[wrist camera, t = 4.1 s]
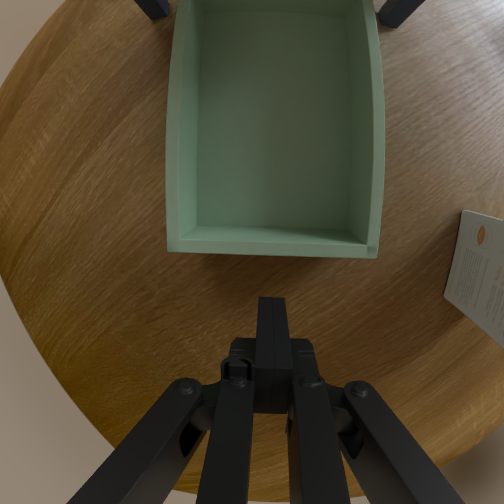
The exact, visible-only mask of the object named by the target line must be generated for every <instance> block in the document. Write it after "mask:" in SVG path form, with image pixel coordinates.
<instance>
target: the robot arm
mask: <svg viewBox="0 0 504 504" xmlns="http://www.w3.org/2000/svg"><path fill="white" fill-rule="evenodd" d="M220 365H221V380H220V381H218V382H216V383H214V384H209V385H201V383H200V382H199V381H197V380H195V379H193V378H180V379H177V380H175V381H174V382H172V383H171V384H170V386H169V387H168V388H167V389H166V390H165V391H164V393H163V394H162V395H161V396H160V397H159V399H158V400H157V401H156V402H155V403H154V405H153V406H152V407H151V408H150V409H149V410H148V412H147V413H146V414H145V415H144V416H143V417H142V419H141V420H140V421H139V422H138V423H137V424H136V426H135V427H134V428H133V429H132V430H131V431H130V433H129V434H128V435H127V436H126V437H125V438H124V440H123V441H122V442H121V443H120V444H119V445H118V446H117V448H116V449H115V450H114V451H113V452H112V453H111V455H110V456H109V457H108V458H107V459H106V460H105V461H104V462H103V464H102V465H101V466H100V467H99V468H98V469H97V470H96V471H95V473H94V474H93V475H92V476H91V477H90V478H89V479H88V480H87V482H86V483H85V484H84V485H83V486H82V487H81V488H80V489H79V491H77V493H76V494H75V495H74V496H73V497H72V498H71V499H70V500H69V501H68V503H67V504H163V502H164V501H165V499H166V498H167V496H168V494H169V493H170V491H171V490H172V488H173V487H174V485H175V484H176V482H177V480H178V479H179V477H180V476H181V474H182V472H183V471H184V469H185V467H186V466H187V464H188V463H189V461H190V459H191V458H192V456H193V454H194V453H195V451H196V449H197V448H198V446H199V444H200V443H201V441H202V439H203V438H204V436H205V434H206V432H207V430H211V432H210V436H209V441H208V446H207V451H206V456H205V460H204V465H203V470H202V475H201V480H200V485H199V490H198V495H197V500H196V504H247V502H248V488H249V474H250V459H251V444H252V428H253V413H266V414H287V409H288V418H287V424H286V430H285V433H287V438H288V460H289V487H290V504H351V503H350V497H349V492H348V486H347V481H346V476H345V471H344V466H343V461H342V456H341V452H342V454H343V455H344V457H345V459H346V461H347V463H348V464H349V466H350V468H351V470H352V472H353V473H354V475H355V477H356V479H357V481H358V483H359V484H360V486H361V488H362V490H363V491H364V493H365V495H366V497H367V499H368V500H369V502H370V504H465V503H464V502H463V500H462V499H461V498H460V496H459V495H458V494H457V493H456V491H455V490H454V489H453V487H452V486H451V485H450V484H449V482H448V481H447V480H446V478H445V477H444V476H443V475H442V473H441V472H440V471H439V469H438V468H437V467H436V466H435V464H434V463H433V462H432V461H431V459H430V458H429V457H428V455H427V454H426V453H425V452H424V450H423V449H422V448H421V447H420V445H419V444H418V443H417V442H416V440H415V439H414V438H413V436H412V435H411V434H410V433H409V431H408V430H407V429H406V428H405V426H404V425H403V424H402V423H401V421H400V420H399V419H398V418H397V416H396V415H395V414H394V413H393V411H392V410H391V409H390V408H389V406H388V405H387V404H386V403H385V401H384V400H383V399H382V398H381V396H380V395H379V394H378V393H377V391H376V390H375V389H374V388H373V387H372V386H371V385H370V384H369V383H366V382H364V381H352V382H349V383H347V384H346V385H345V386H344V388H341V387H335V386H332V385H329V384H327V383H325V381H324V379H323V378H322V377H321V376H320V375H319V371H318V367H317V362H316V358H315V354H314V350H313V345H312V343H311V342H310V341H309V340H308V339H291V338H290V337H289V329H288V321H287V313H286V306H285V298H273V297H259V302H258V318H257V332H256V338H239V337H237V338H236V339H235V340H234V341H233V342H232V343H231V347H230V352H229V357H228V358H226V359H224V360H223V361H222V363H221V364H220ZM340 450H341V451H340Z"/></svg>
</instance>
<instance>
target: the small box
mask: <svg viewBox="0 0 504 504" xmlns="http://www.w3.org/2000/svg"><path fill="white" fill-rule="evenodd" d="M443 297H444V298H446V299H447V300H448V301H449V302H450V303H452V304H453V305H454V306H455V307H456V308H458V309H459V310H460V311H461V312H462V313H463V314H465V315H466V316H467V317H468V318H469V319H470V320H471V321H473V322H474V323H475V324H476V325H477V326H478V327H480V328H481V329H482V330H483V331H484V332H485V333H486V334H487V335H489V336H490V337H491V338H492V339H493V340H494V341H495V342H496V343H497V344H499V345H500V346H501V347H502V348H503V349H504V220H501V219H498V218H494V217H491V216H487V215H484V214H480V213H476V212H472V211H468V210H462V214H461V221H460V227H459V233H458V238H457V243H456V248H455V252H454V257H453V261H452V266H451V270H450V274H449V277H448V281H447V285H446V288H445V292H444V295H443Z"/></svg>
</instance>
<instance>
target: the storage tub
mask: <svg viewBox="0 0 504 504" xmlns="http://www.w3.org/2000/svg"><path fill="white" fill-rule="evenodd" d="M384 170H385V104H384V86H383V72H382V61H381V52H380V44H379V36H378V29H377V23H376V17H375V11H374V6H373V1H372V0H178V6H177V13H176V19H175V27H174V34H173V42H172V51H171V61H170V72H169V84H168V98H167V116H166V145H165V200H166V230H167V250H168V252H180V253H209V254H239V255H269V256H300V257H332V258H365V259H376V258H377V252H378V243H379V235H380V226H381V215H382V204H383V190H384Z"/></svg>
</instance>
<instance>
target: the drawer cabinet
mask: <svg viewBox="0 0 504 504" xmlns="http://www.w3.org/2000/svg"><path fill="white" fill-rule="evenodd" d="M134 1H135V2H136V3H137V4H138V5H139V7H140V8H141V9H142V10H143V11H144V12H145V13H146V15H147V16H148V17H149V18H150V19H151V20H152V19H157V18H162V17H167V16H168V10H169V3H168V1H167V0H134ZM424 1H425V0H387V1H386V3H385V4H384V5H383V7H382V8H381V9H380V10H379V16H380V22H381V24H382V25H386V26H390V27H393V28H398V27H399V26H400V25H401V24H402V23H403V22H404V21H405V20H406V19H407V18H408V17H409V16H410V15H411V14H412V13H413V12H414V11H415V10H416V9H417V8H418V7H419V6H420V5H421V4H422V3H423V2H424Z"/></svg>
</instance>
